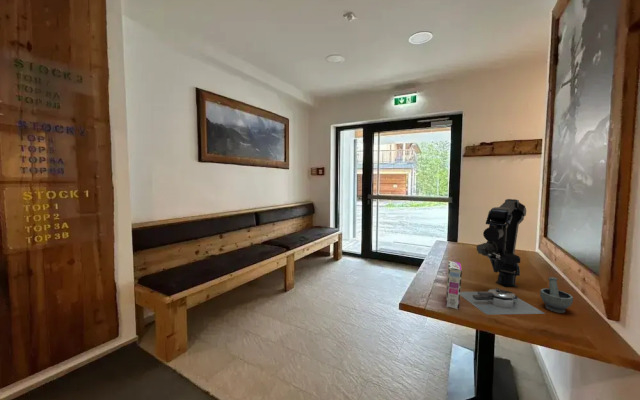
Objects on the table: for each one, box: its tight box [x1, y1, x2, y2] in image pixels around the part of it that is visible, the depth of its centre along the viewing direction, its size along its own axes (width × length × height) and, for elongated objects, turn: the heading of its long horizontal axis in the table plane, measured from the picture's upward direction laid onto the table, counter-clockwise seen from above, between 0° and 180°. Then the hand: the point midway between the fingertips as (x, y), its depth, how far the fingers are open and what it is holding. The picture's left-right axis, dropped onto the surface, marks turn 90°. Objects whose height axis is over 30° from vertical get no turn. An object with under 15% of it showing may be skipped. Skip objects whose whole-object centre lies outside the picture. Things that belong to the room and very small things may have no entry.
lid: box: [477, 288, 516, 298], centre depth 110 cm, size 14×9×2 cm, turn 94°
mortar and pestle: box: [539, 276, 574, 314], centre depth 107 cm, size 11×9×12 cm
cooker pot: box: [473, 294, 519, 308], centre depth 111 cm, size 18×9×3 cm, turn 94°
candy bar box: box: [445, 260, 463, 310], centre depth 110 cm, size 11×5×16 cm, turn 155°
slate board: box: [460, 291, 546, 316], centre depth 112 cm, size 24×20×1 cm
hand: (495, 272), depth 117 cm, fingers closed
